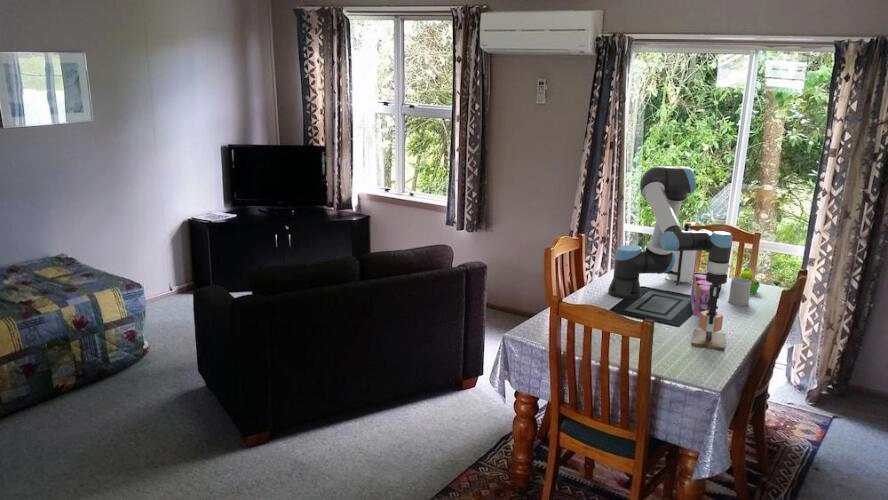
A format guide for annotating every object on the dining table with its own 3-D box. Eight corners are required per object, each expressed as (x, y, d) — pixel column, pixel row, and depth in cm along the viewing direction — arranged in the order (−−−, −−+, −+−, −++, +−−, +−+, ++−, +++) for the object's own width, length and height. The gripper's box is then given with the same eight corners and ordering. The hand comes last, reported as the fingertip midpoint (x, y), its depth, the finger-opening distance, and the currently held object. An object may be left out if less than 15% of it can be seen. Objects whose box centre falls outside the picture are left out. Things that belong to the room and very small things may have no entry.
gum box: (712, 319, 290) (716, 289, 287) (693, 317, 292) (697, 287, 289) (707, 301, 312) (711, 273, 309) (689, 299, 314) (693, 271, 311)
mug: (748, 307, 306) (751, 284, 303) (727, 304, 309) (731, 281, 306) (748, 299, 316) (752, 277, 313) (729, 296, 320) (732, 274, 317)
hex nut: (721, 333, 260) (723, 318, 258) (698, 329, 263) (700, 315, 261) (721, 327, 266) (723, 312, 265) (699, 323, 269) (700, 309, 268)
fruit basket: (732, 292, 326) (735, 270, 324) (732, 287, 334) (735, 265, 332) (758, 295, 323) (761, 272, 320) (757, 290, 331) (760, 268, 328)
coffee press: (668, 275, 351) (674, 219, 344) (699, 281, 342) (706, 223, 335) (657, 283, 338) (663, 225, 330) (689, 289, 329) (696, 230, 321)
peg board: (690, 345, 261) (693, 320, 258) (693, 331, 275) (696, 308, 273) (724, 350, 257) (727, 325, 254) (724, 336, 271) (728, 312, 268)
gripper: (727, 280, 248) (719, 338, 254) (728, 266, 266) (720, 321, 272) (705, 277, 251) (698, 334, 257) (707, 264, 269) (701, 318, 275)
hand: (710, 327), depth 264 cm, fingers closed on hex nut, 7 cm apart
